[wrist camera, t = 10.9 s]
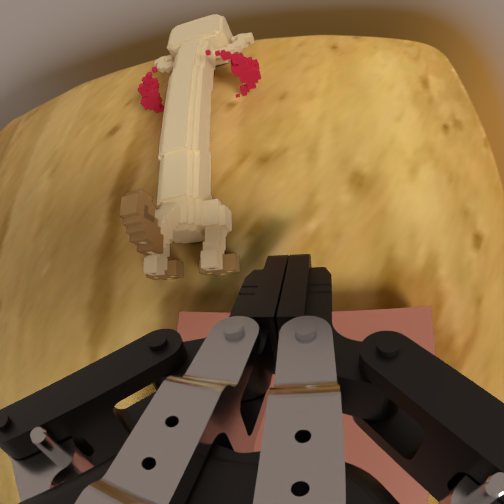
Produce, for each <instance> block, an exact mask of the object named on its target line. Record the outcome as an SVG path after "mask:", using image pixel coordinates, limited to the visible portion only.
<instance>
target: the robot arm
mask: <svg viewBox="0 0 504 504" xmlns="http://www.w3.org/2000/svg"><path fill="white" fill-rule="evenodd" d="M272 374H275V381H274V388H270V384H271V379H272ZM151 383H153V385H154V387H155V389H156V392H154V393H153V394H151V395H149V396H148V397H146V398H144V399H142V400H140V401H139V402H137V403H135V404H133V405H132V406H130V407H128V408H126V409H117V408H115V407H114V406H115V405H116V404H117V403H118V402H119V401H121V400H123V399H125V398H126V397H128V396H130V395H132V394H134V393H135V392H137V391H139V390H141V389H143V388H144V387H146V386H148V385H150V384H151ZM265 410H266V414H265V422H264V430H263V437H262V445H261V451H258V452H254V445H255V440H256V437H257V434H258V431H259V428H260V425H261V422H262V419H263V416H264V413H265ZM342 413H343V414H347V415H350V416H352V417H353V420H354V422H355V423H356V424H357V425H358V426H359V427H360V428H361V429H362V430H363V431H364V432H365V433H366V434H367V435H368V436H369V437H370V438H371V439H372V440H373V441H374V442H375V443H376V444H377V445H378V446H379V447H380V448H381V449H382V450H384V451H385V452H386V453H387V454H388V455H389V456H390V457H391V458H392V459H393V460H394V461H395V462H396V463H397V464H398V465H399V466H400V467H401V468H403V469H404V470H405V471H406V472H407V473H408V474H409V475H410V476H411V477H412V478H413V479H414V480H415V481H417V482H418V483H419V484H420V485H421V486H422V487H423V488H424V489H425V490H426V491H428V492H429V493H430V494H431V495H432V496H433V497H434V498H435V499H437V500H438V501H439V504H504V403H503V402H501V401H500V400H498V399H497V398H496V397H494V396H493V395H491V394H490V393H488V392H487V391H485V390H484V389H483V388H481V387H480V386H478V385H477V384H475V383H474V382H473V381H471V380H470V379H468V378H467V377H465V376H464V375H462V374H461V373H459V372H458V371H457V370H455V369H454V368H452V367H451V366H449V365H448V364H446V363H445V362H443V361H442V360H440V359H439V358H438V357H436V356H435V355H433V354H432V353H430V352H429V351H427V350H426V349H424V348H423V347H421V346H420V345H418V344H417V343H415V342H414V341H413V340H411V339H410V338H408V337H407V336H405V335H403V334H401V333H399V332H395V331H378V332H375V333H372V334H370V335H368V336H367V337H366V338H365V339H364V340H363V341H362V342H361V341H356V340H352V339H348V338H346V337H344V336H342V335H340V334H339V333H338V332H337V331H336V330H335V328H334V327H333V324H332V283H331V274H330V272H329V271H328V270H327V269H326V268H325V267H315V268H311V256H310V254H300V255H290V256H289V255H278V256H268V257H267V260H266V263H265V266H264V269H263V270H253V271H252V272H251V273H250V274H249V275H248V276H247V277H246V278H245V280H244V282H243V285H242V288H241V289H240V292H239V295H238V297H237V299H236V301H235V304H234V306H233V309H232V311H231V313H230V316H229V318H225V319H223V320H221V321H219V322H218V323H216V324H215V325H214V326H213V327H212V329H211V330H210V332H209V334H208V335H207V337H206V338H202V339H196V340H191V341H185V342H183V340H182V338H181V335H180V334H179V333H178V332H177V331H175V330H172V329H160V330H156V331H153V332H151V333H149V334H147V335H145V336H143V337H141V338H139V339H137V340H135V341H134V342H132V343H130V344H128V345H126V346H124V347H122V348H120V349H119V350H117V351H115V352H113V353H111V354H109V355H107V356H105V357H103V358H101V359H100V360H98V361H96V362H94V363H92V364H90V365H88V366H86V367H84V368H82V369H80V370H78V371H76V372H75V373H73V374H71V375H69V376H67V377H65V378H63V379H61V380H59V381H57V382H55V383H53V384H51V385H49V386H47V387H45V388H43V389H41V390H39V391H37V392H35V393H33V394H31V395H29V396H27V397H25V398H23V399H21V400H19V401H17V402H15V403H13V404H11V405H9V406H7V407H5V408H3V409H1V410H0V448H1V449H3V450H4V451H5V452H6V453H7V454H8V456H9V457H10V458H11V460H12V465H13V470H14V475H15V479H16V484H17V488H18V492H19V496H20V500H21V502H20V503H19V504H400V503H399V502H398V501H397V500H396V499H395V498H394V497H393V496H392V494H391V493H390V492H389V491H388V490H387V489H386V488H385V487H384V486H383V485H382V484H381V483H380V482H379V481H378V480H377V479H376V478H375V477H373V476H372V475H371V474H370V473H368V472H366V471H365V470H363V469H361V468H359V467H357V466H355V465H353V464H350V463H347V462H345V453H344V433H343V418H342Z"/></svg>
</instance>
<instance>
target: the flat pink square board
mask: <svg viewBox="0 0 504 504" xmlns="http://www.w3.org/2000/svg"><path fill="white" fill-rule="evenodd" d="M229 316H230V313H225V312H184V311H180V312H179V318H178V325H177V332H178V333H179V334H180V335H181V338H182V340H183V342H185V341H191V340H196V339H202V338H206V337H207V335H208V334H209V332H210V330H211V329H212V327H213V326H214V325H215V324H216V323H218V322H219V321H221V320H223V319H225V318H229ZM332 324H333V327H334V328H335V330H336V331H337V332H338V333H339V334H340V335H342V336H344V337H346V338H348V339H352V340H356V341H361V342H362V341H363V340H364V339H365V338H366V337H367V336H368V335H370V334H372V333H375V332H378V331H395V332H399V333H401V334H403V335H405V336H407V337H408V338H410V339H411V340H413V341H414V342H415V343H417V344H418V345H420V346H421V347H423V348H424V349H426V350H427V351H429V352H430V353H432V354H433V355H435V344H434V331H433V320H432V310H431V306H421V307H408V308H393V309H377V310H357V311H332ZM274 381H275V374H272V379H271V384H270V388H274ZM265 414H266V410H265V413H264V416H263V419H262V422H261V425H260V428H259V431H258V434H257V437H256V440H255V445H254V452H258V451H261V445H262V437H263V430H264V422H265ZM342 418H343V433H344V453H345V462H347V463H350V464H353V465H355V466H357V467H359V468H361V469H363V470H365V471H366V472H368V473H370V474H371V475H372V476H373V477H375V478H376V479H377V480H378V481H379V482H380V483H381V484H382V485H383V486H384V487H385V488H386V489H387V490H388V491H389V492H390V493H391V494H392V496H393V497H394V498H395V499H396V500H397V501H398V502H399V503H400V504H427V503H428V497H429V492H428V491H426V490H425V489H424V488H423V487H422V486H421V485H420V484H419V483H418V482H417V481H415V480H414V479H413V478H412V477H411V476H410V475H409V474H408V473H407V472H406V471H405V470H404V469H403V468H401V467H400V466H399V465H398V464H397V463H396V462H395V461H394V460H393V459H392V458H391V457H390V456H389V455H388V454H387V453H386V452H385V451H384V450H382V449H381V448H380V447H379V446H378V445H377V444H376V443H375V442H374V441H373V440H372V439H371V438H370V437H369V436H368V435H367V434H366V433H365V432H364V431H363V430H362V429H361V428H360V427H359V426H358V425H357V424H356V423H355V422H354V420H353V417H352V416H350V415H347V414H343V413H342Z"/></svg>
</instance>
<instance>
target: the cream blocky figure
mask: <svg viewBox="0 0 504 504" xmlns="http://www.w3.org/2000/svg"><path fill="white" fill-rule="evenodd" d="M253 43H254V38H253V35H252V33H246V34H244V33H243V34H239V35H237V36H232V34H231V31H230V29H229V26H228V24H227V22H226V20H225V17H223V16H222V17H221V16H219V15H216V14H214V15H210V16H207V17H203V18H200V19H197V20H193V21H190V22H187V23H184V24H181V25H178V26H176V28H174V29H172V32H171V34H170V38H169V42H168V46H167V48H168V50H169V52H170V53H171V55H168V56H163V57H160V58H159V59H157V60H155V63H154V64H155V66H156V67H153V68H152V71H153V73H154V72H157V70H159V72H162V73H163V72H166V71H167V73H169V72H172V71H173V72H172V73H171V76H170V77H169V83H168V89H167V95H166V101H165V106H163V105H161V103H162V99H161V97H160V94H159V93H158V88H159V83H158V79H157V78H156V79H155V78H154V79H153V78H152V73H151V72H148V73H147V74H146V77H143V78H142V81H143V84H140V85H139V88H138V92H139V93H140V94H141V95H142V96H143V98H142V99H141V104H142V106H143V107H144V108H145V109H150V110H153V109H154V110H155V112H156V113H159V112H164V115H163V122H162V130H161V138H160V146H159V155H158V159H159V160H160V171H159V182H158V195H157V205H158V206H159V209H156V210H155V205H154V204H153V203H152V198H153V197H152V196H151V195H149V194H148V193H147V192H145V191H144V190H143V189H141V190H137V191H133V192H129V193H126V196H123V197H121V206H120V216H121V217H122V218H123V225H125V226H127V231H126V233H127V234H129V235H130V242H132V243H134V244H136V245H137V251H138V252H140V253H142V254H145V255H147V257H146V258H144V273H145V274H146V277H147V278H150V279H164V280H168V279H177V278H179V277H183V262H180V261H178V260H168V261H167V257H170V244H172V241H174V242H176V243H183V244H185V243H193V242H201V241H204V242H203V251H201V257H199V273H201V274H204V275H214V274H215V275H227V274H232V273H237V272H240V265H239V256H237V255H236V254H235V253H232V254H224V251H225V250H226V239H225V237H227V233H229V231H232V218H231V211H230V210H229V209H228V208H227V207H226V205H223V204H222V203H221V201H220V200H219V199H212V196H211V153H210V151H209V148H210V113H211V92H213V75H214V70H215V66H217V65H221V64H225V63H229V60H231V65H232V66H231V69H232V72H233V74H234V76H238V75H239V78H240V80H241V82H242V83H244V82H246V84H247V85H243V86H240V90H241V92H242V94H243V96H244V95H247V92H250V91H249V89H254V88H256V85H255V83H258V80H259V79H261V75H260V71H259V63H258V61H257V59H256V60H252V57H249V58H247V57H244V56H243V54H242V53H240V54H238V53H239V52H241V50H243V48H246V47H249V46H248V44H253ZM237 51H238V52H237ZM237 97H240V94H237V95H236V98H237Z"/></svg>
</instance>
